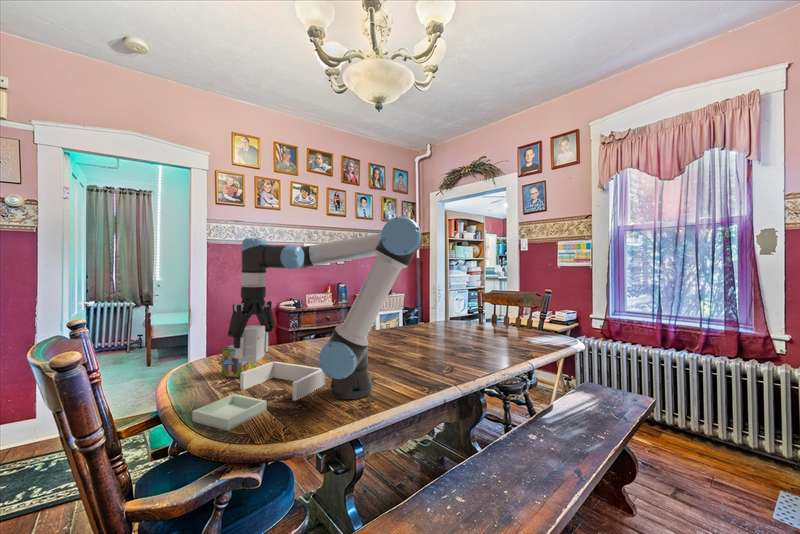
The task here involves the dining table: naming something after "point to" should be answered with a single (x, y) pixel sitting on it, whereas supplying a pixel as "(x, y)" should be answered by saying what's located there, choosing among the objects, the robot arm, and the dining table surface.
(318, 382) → the bay
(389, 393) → the dining table surface
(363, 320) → the robot arm
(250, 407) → the tray
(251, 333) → the small box
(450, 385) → the dining table surface
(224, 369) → the chalk box
